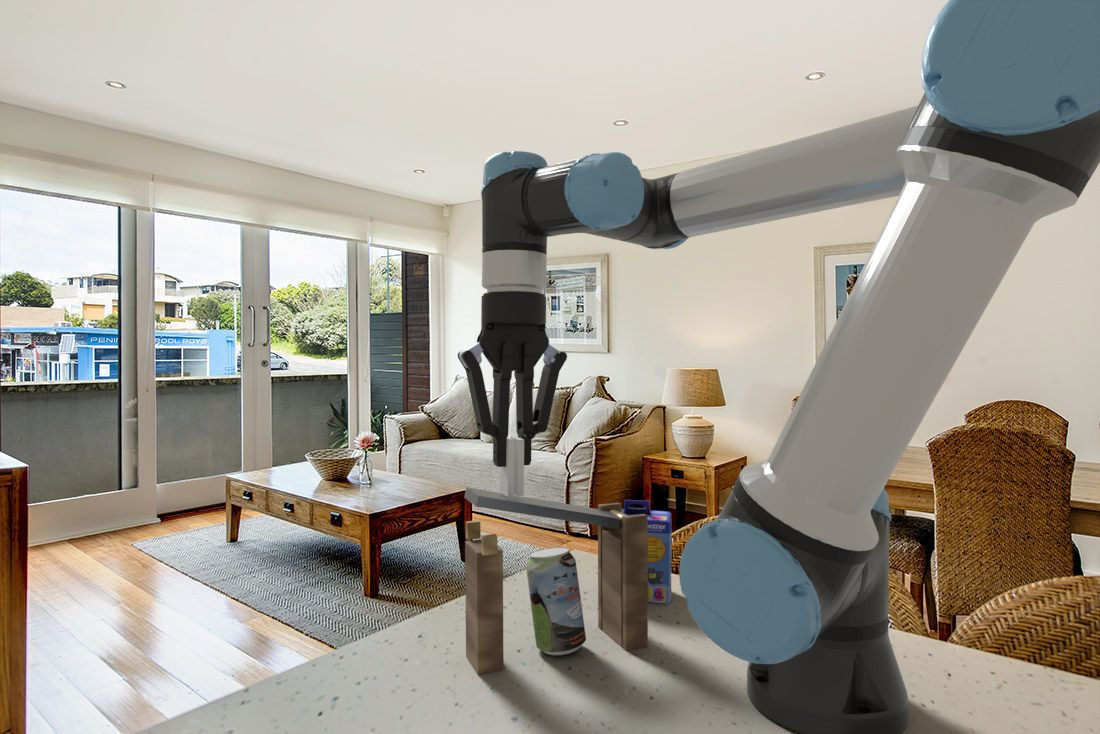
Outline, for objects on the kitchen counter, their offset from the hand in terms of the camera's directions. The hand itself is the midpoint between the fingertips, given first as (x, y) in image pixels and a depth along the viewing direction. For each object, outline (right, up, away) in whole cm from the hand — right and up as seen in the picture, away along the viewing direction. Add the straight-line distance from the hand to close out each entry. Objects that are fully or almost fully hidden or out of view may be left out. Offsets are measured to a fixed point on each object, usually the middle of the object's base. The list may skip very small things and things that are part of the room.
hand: (511, 493), depth 77 cm
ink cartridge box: (+17, -19, +19) cm, 32 cm away
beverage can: (+5, -19, +2) cm, 20 cm away
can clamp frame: (+5, -19, +2) cm, 20 cm away
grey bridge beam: (+5, -3, +2) cm, 6 cm away
